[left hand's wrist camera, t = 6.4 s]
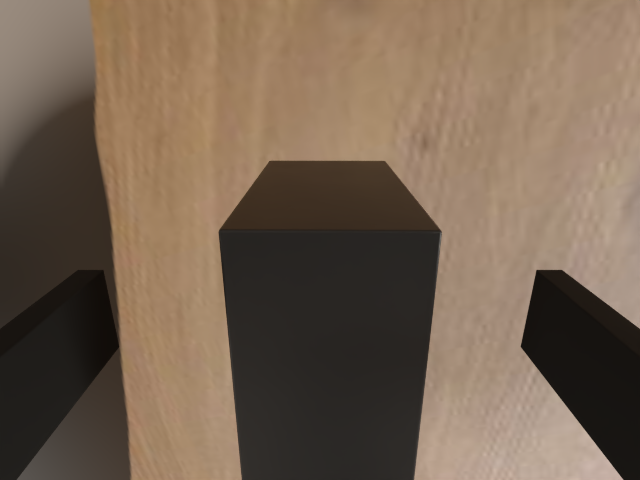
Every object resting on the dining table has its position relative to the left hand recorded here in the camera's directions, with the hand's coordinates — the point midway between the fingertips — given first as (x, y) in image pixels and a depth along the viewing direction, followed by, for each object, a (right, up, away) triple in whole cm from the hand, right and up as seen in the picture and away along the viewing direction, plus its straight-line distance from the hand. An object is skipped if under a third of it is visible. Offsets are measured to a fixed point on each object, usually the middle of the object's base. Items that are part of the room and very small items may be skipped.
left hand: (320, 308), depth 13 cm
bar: (0, -6, +9) cm, 11 cm away
